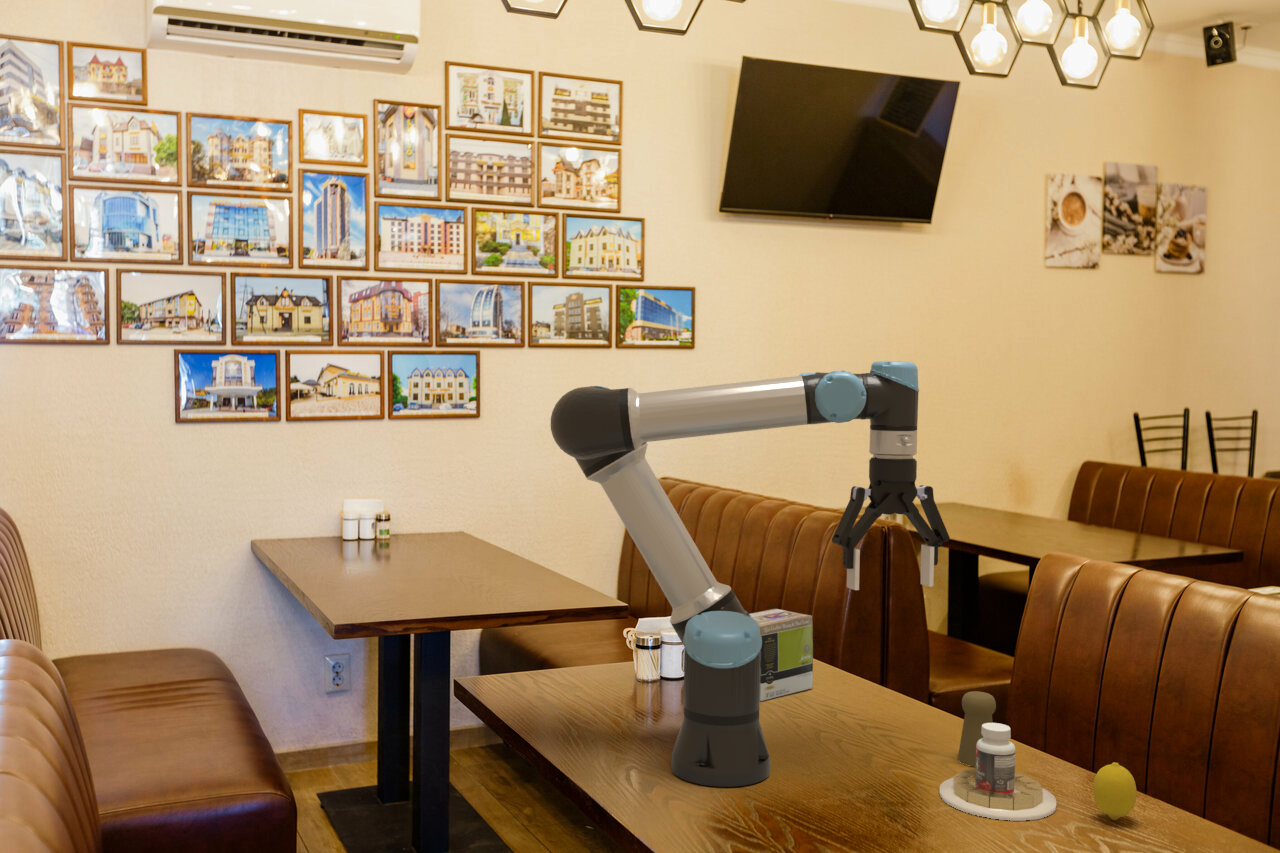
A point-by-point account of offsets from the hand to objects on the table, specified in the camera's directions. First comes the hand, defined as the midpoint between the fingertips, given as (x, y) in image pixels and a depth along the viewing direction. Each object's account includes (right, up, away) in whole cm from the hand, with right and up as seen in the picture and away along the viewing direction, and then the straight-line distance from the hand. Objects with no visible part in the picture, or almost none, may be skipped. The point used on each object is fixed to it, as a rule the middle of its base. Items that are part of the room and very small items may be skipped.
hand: (890, 587), depth 181 cm
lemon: (+25, -28, -28) cm, 47 cm away
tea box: (-16, -26, +36) cm, 47 cm away
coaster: (+11, -28, -21) cm, 36 cm away
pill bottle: (+10, -27, -21) cm, 36 cm away
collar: (+11, -28, -21) cm, 36 cm away
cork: (+13, -27, -4) cm, 30 cm away
